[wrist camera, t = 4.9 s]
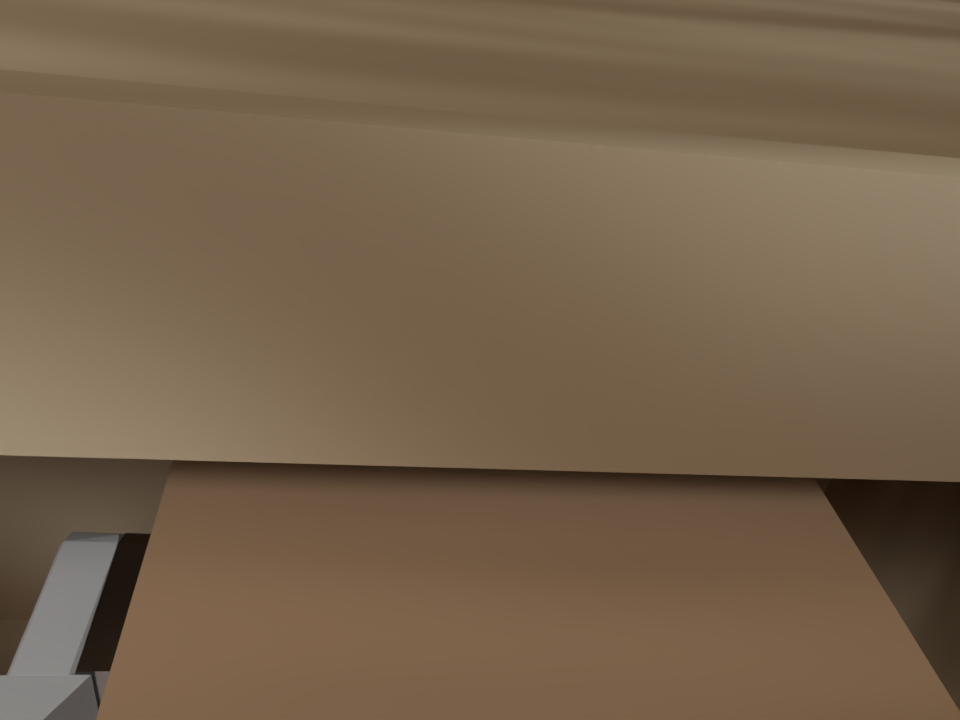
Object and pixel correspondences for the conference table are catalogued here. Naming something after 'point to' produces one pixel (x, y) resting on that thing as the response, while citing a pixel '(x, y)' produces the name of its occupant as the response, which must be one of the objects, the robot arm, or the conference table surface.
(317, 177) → the brown wooden open box
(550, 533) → the capped block
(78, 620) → the robot arm
